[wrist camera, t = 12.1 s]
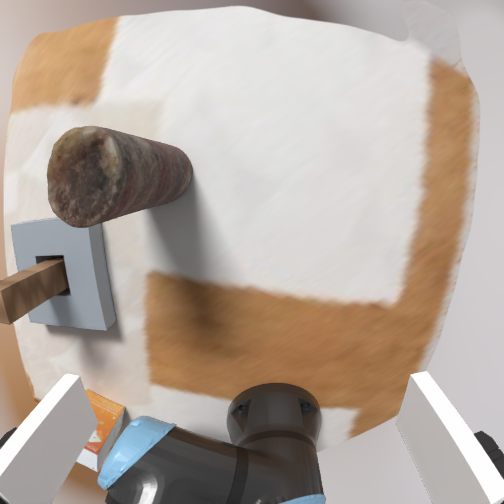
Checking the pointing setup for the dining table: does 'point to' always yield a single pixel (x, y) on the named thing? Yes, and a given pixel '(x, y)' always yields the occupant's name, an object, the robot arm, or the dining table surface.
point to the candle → (112, 175)
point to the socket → (68, 272)
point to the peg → (31, 288)
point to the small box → (101, 430)
